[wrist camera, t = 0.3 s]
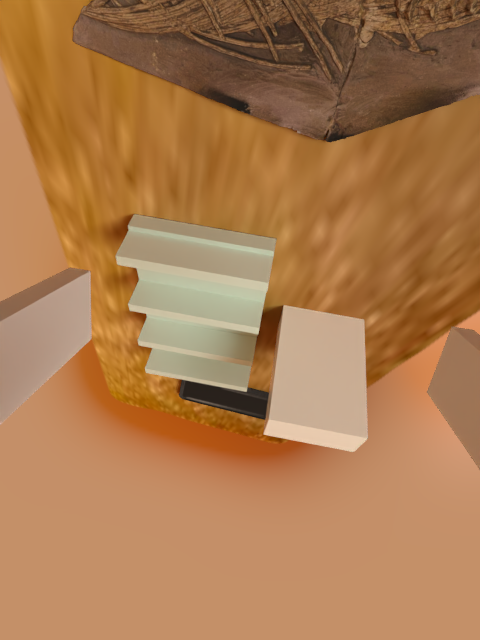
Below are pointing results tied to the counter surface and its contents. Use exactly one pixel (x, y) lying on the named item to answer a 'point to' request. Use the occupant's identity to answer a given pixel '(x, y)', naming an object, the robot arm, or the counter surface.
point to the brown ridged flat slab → (300, 55)
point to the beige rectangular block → (318, 380)
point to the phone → (226, 398)
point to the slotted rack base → (198, 298)
